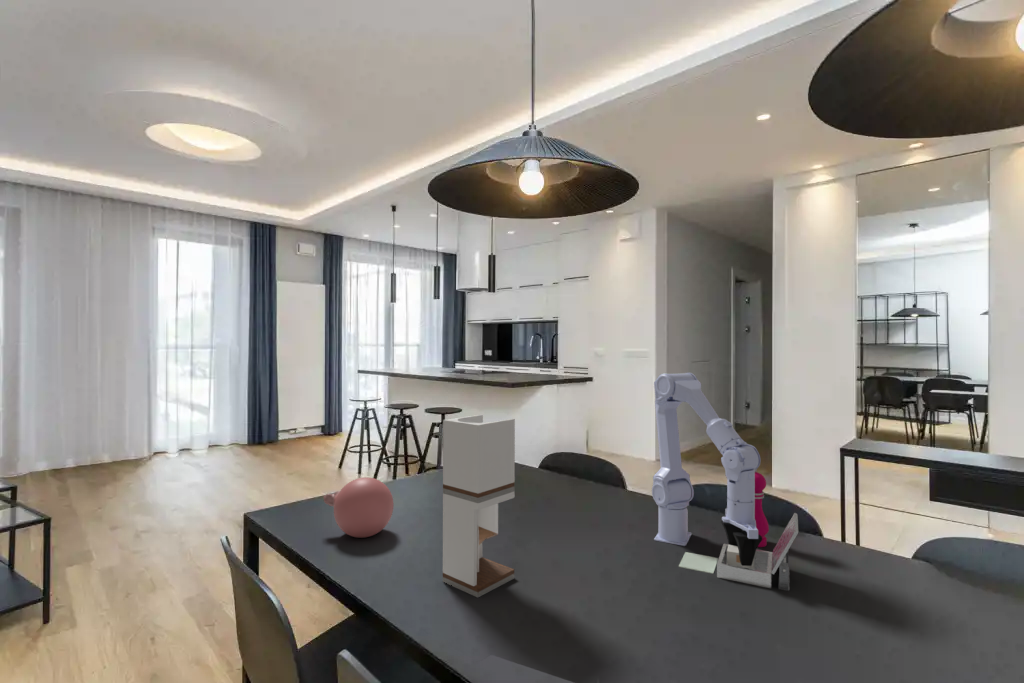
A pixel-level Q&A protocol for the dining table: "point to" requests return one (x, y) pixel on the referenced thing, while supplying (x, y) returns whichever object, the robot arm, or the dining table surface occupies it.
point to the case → (754, 570)
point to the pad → (698, 562)
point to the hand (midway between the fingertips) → (740, 558)
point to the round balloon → (362, 507)
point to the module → (735, 557)
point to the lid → (784, 543)
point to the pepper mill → (760, 508)
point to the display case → (475, 499)
